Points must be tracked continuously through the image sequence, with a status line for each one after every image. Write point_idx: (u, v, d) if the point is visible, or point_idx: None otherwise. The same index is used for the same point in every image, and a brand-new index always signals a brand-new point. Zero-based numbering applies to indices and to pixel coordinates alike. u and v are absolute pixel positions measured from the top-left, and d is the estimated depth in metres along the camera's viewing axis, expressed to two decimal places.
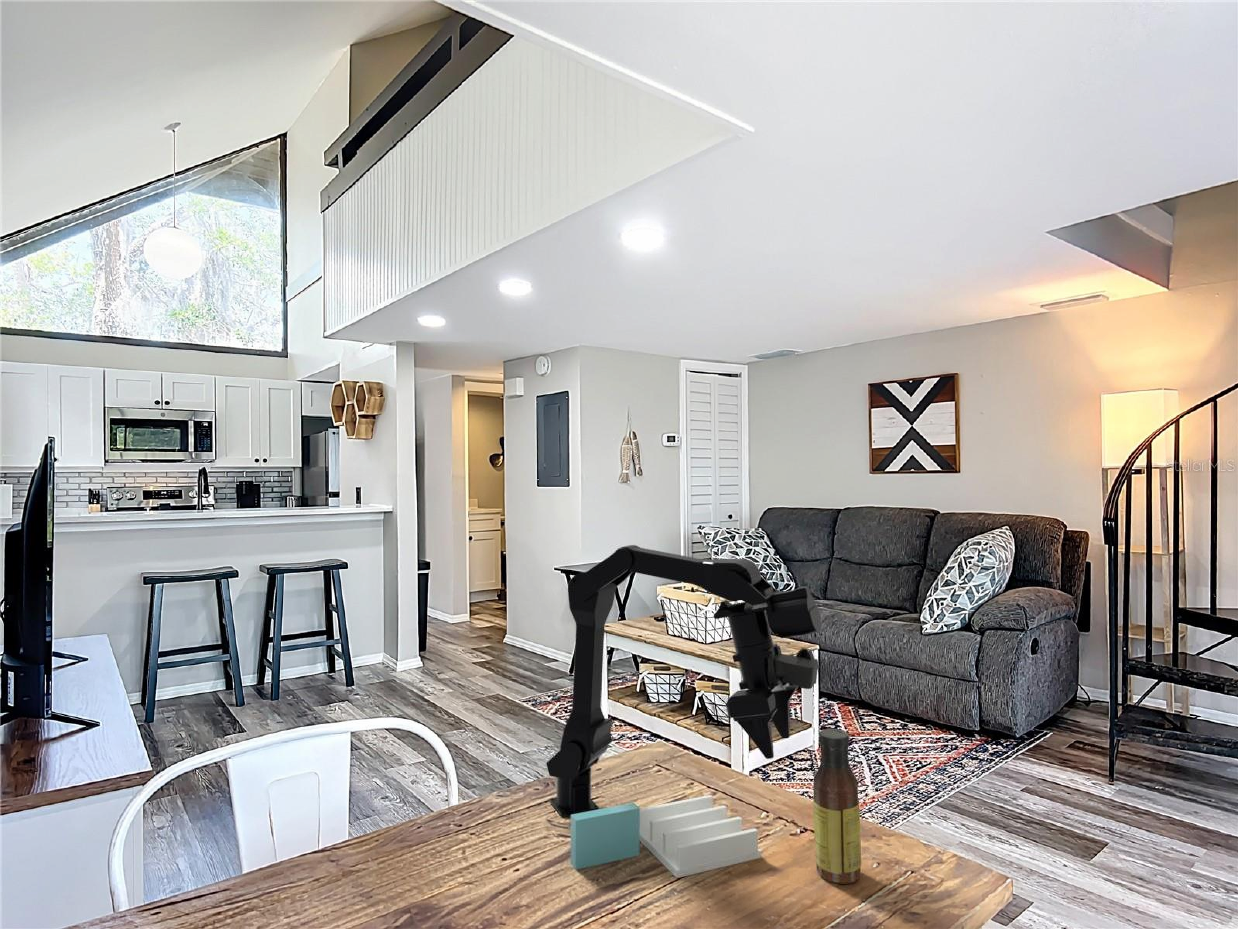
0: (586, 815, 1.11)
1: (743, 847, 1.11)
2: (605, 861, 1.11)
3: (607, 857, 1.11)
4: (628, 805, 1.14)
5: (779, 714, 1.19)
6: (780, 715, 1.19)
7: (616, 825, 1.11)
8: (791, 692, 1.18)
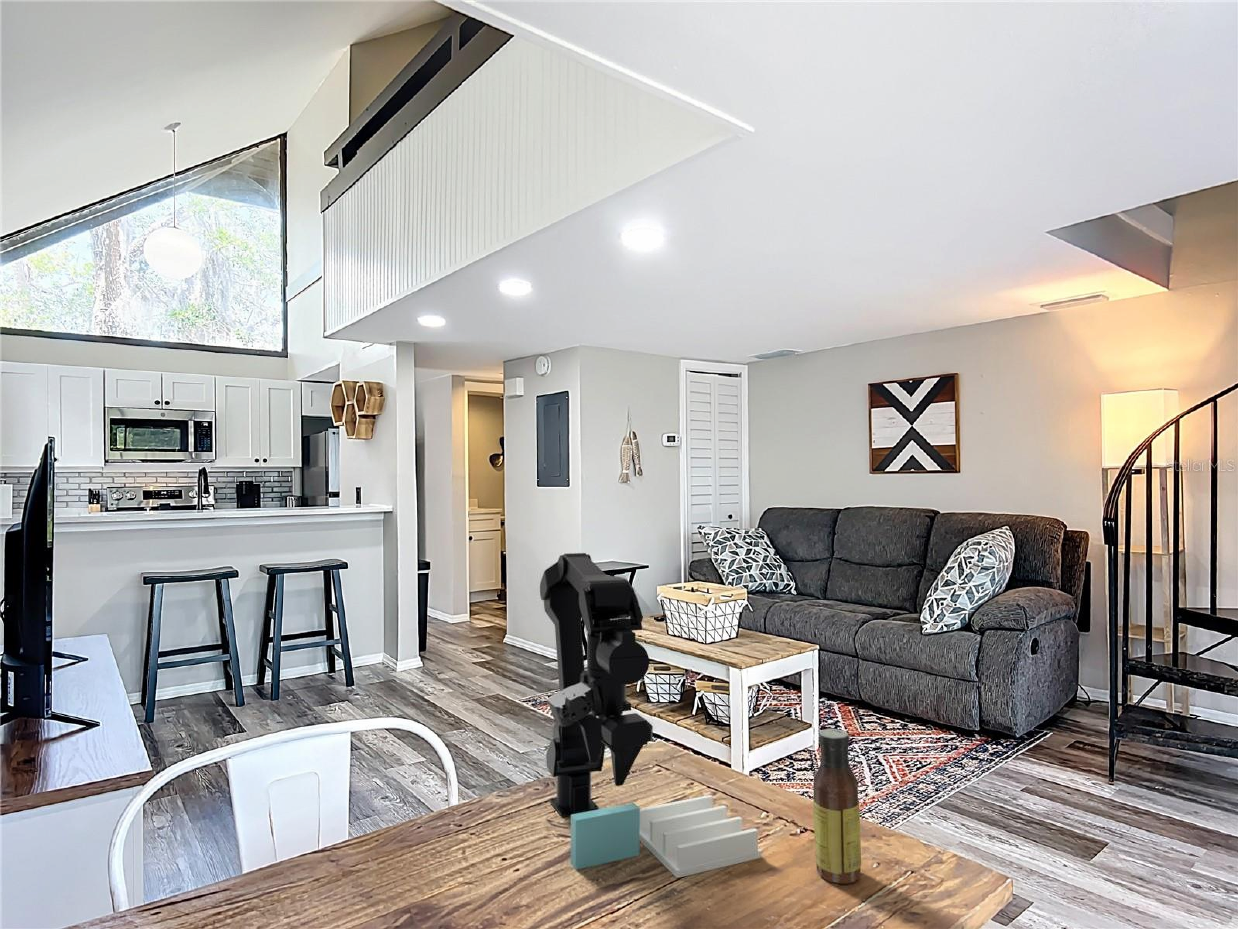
0: (586, 815, 1.11)
1: (743, 847, 1.11)
2: (605, 861, 1.11)
3: (607, 857, 1.11)
4: (628, 805, 1.14)
5: None
6: None
7: (616, 825, 1.11)
8: None
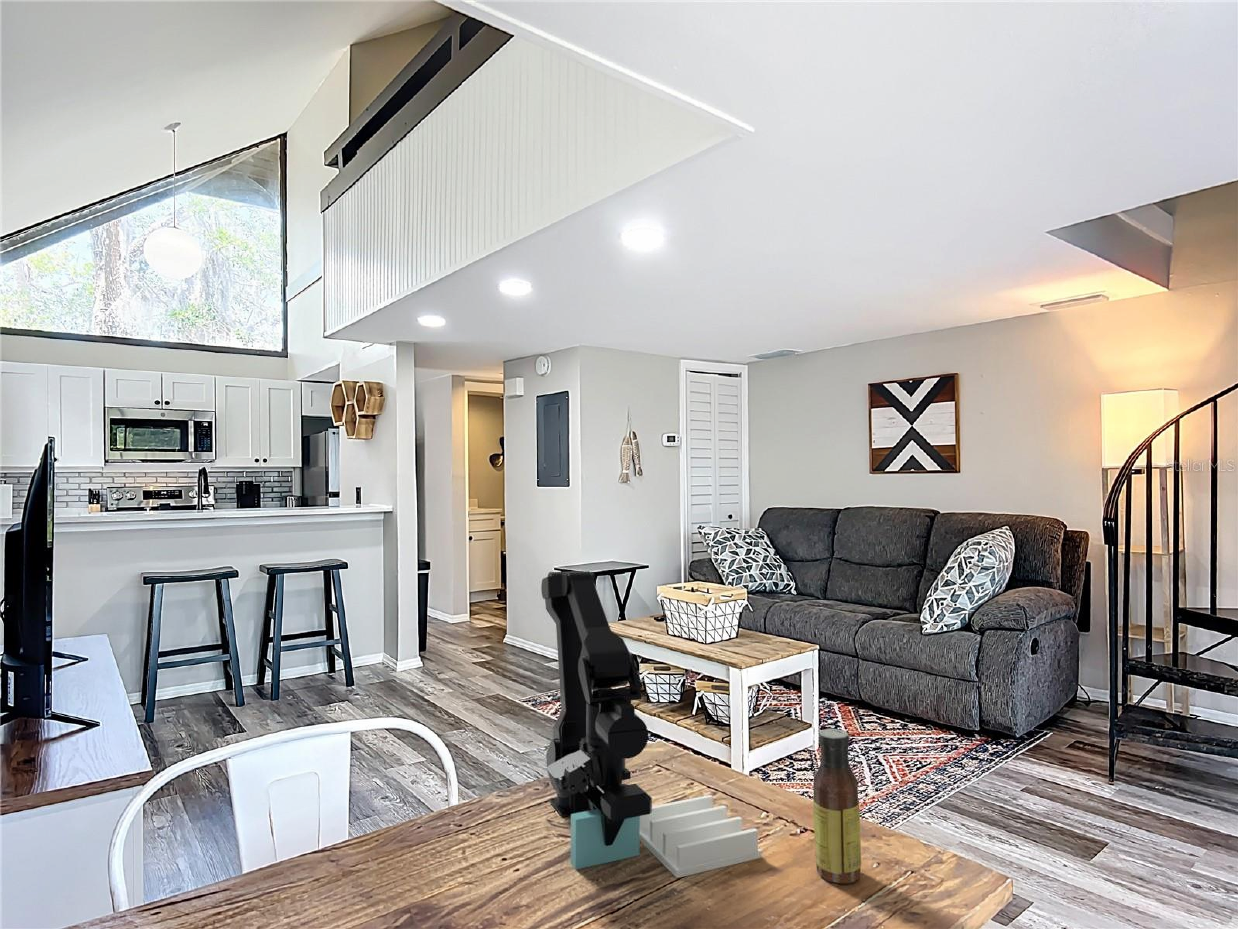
0: (586, 814, 1.11)
1: (743, 847, 1.11)
2: (605, 860, 1.11)
3: (607, 856, 1.11)
4: None
5: None
6: None
7: None
8: None
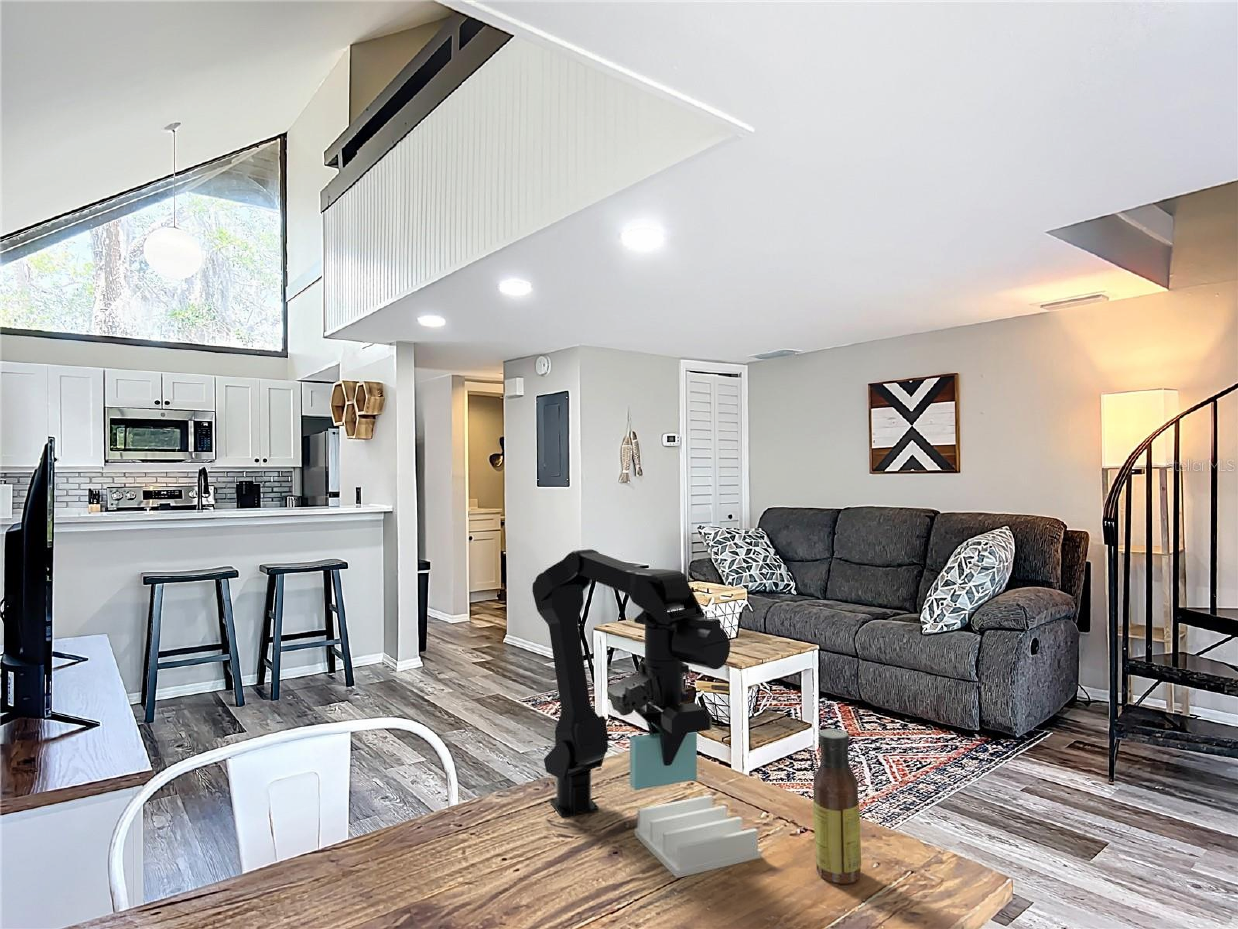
0: (645, 737, 1.13)
1: (743, 847, 1.11)
2: (664, 783, 1.13)
3: (666, 779, 1.13)
4: None
5: None
6: None
7: None
8: None
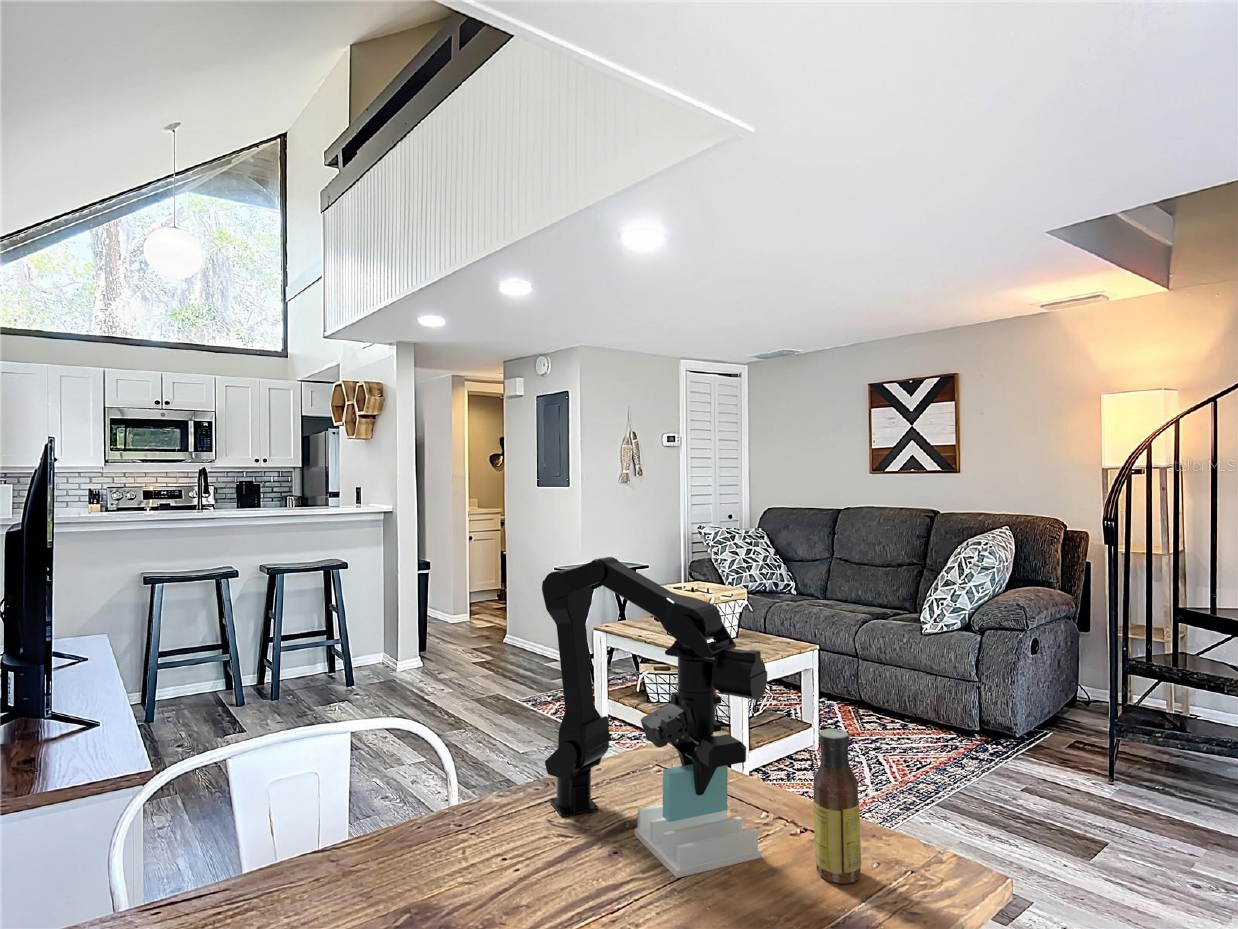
0: (678, 769, 1.15)
1: (743, 847, 1.11)
2: (696, 814, 1.15)
3: (698, 810, 1.15)
4: None
5: None
6: None
7: None
8: None
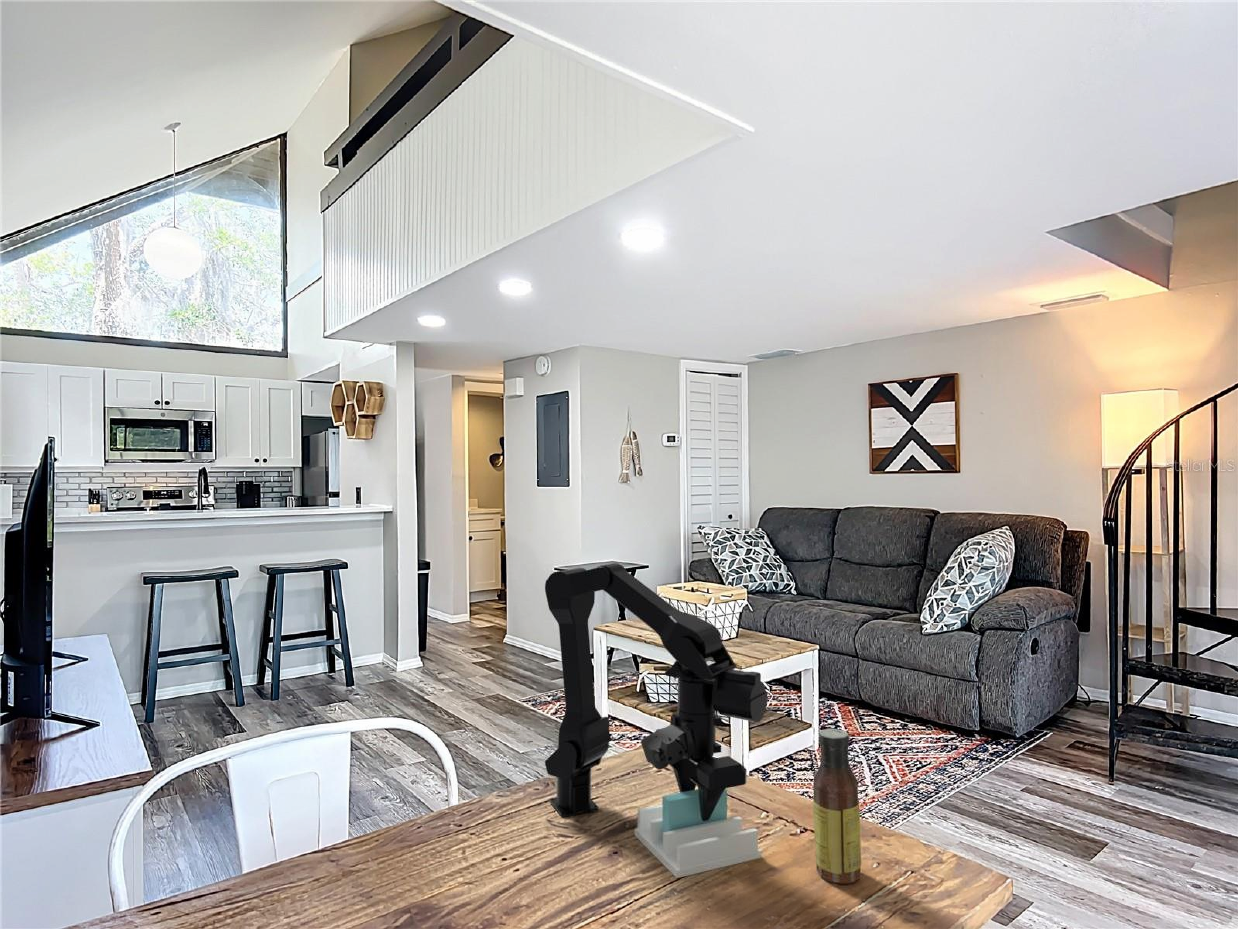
0: (678, 796, 1.14)
1: (743, 847, 1.11)
2: None
3: None
4: None
5: None
6: None
7: None
8: None
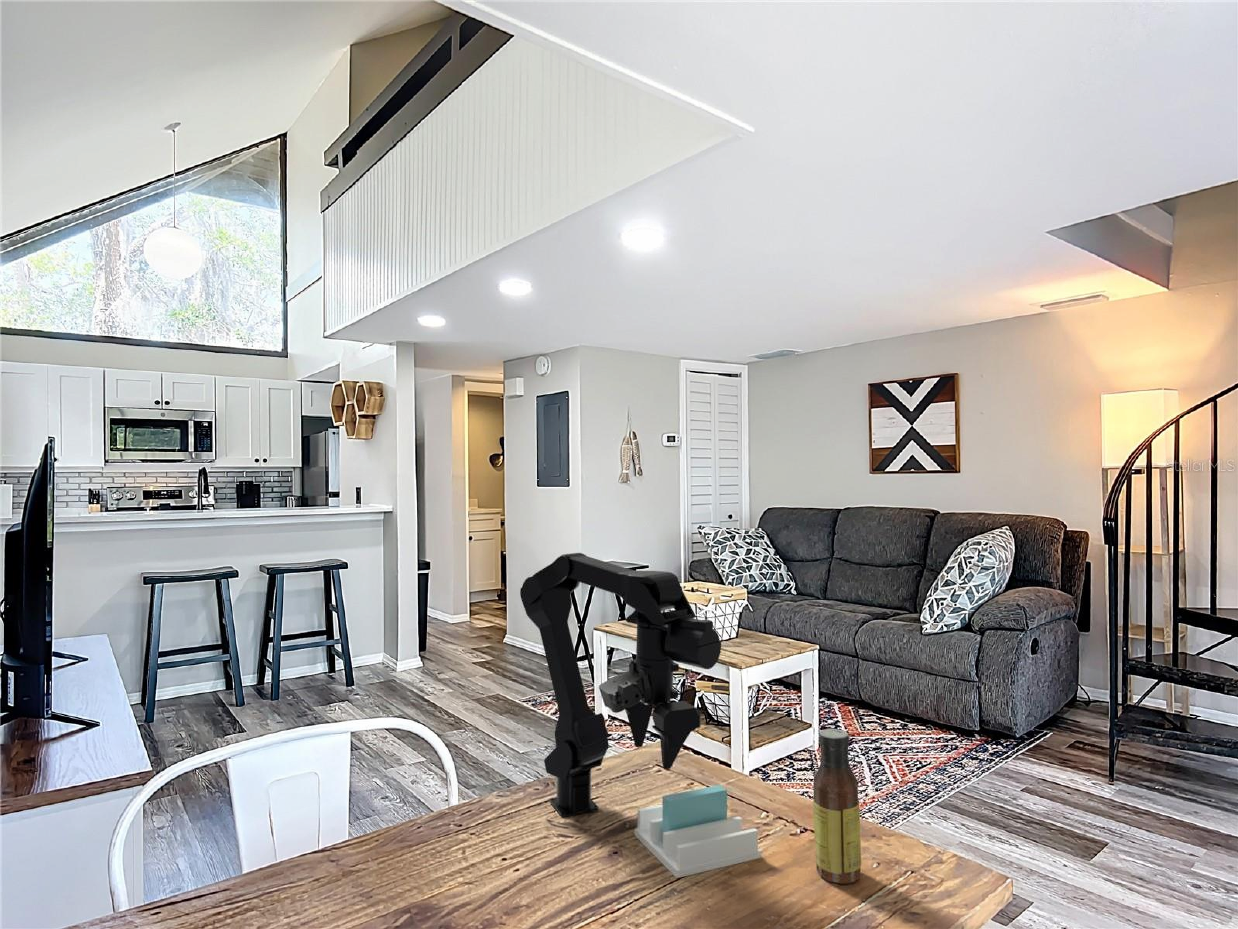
0: (678, 796, 1.14)
1: (743, 847, 1.11)
2: None
3: None
4: (715, 787, 1.18)
5: None
6: None
7: (706, 806, 1.15)
8: None
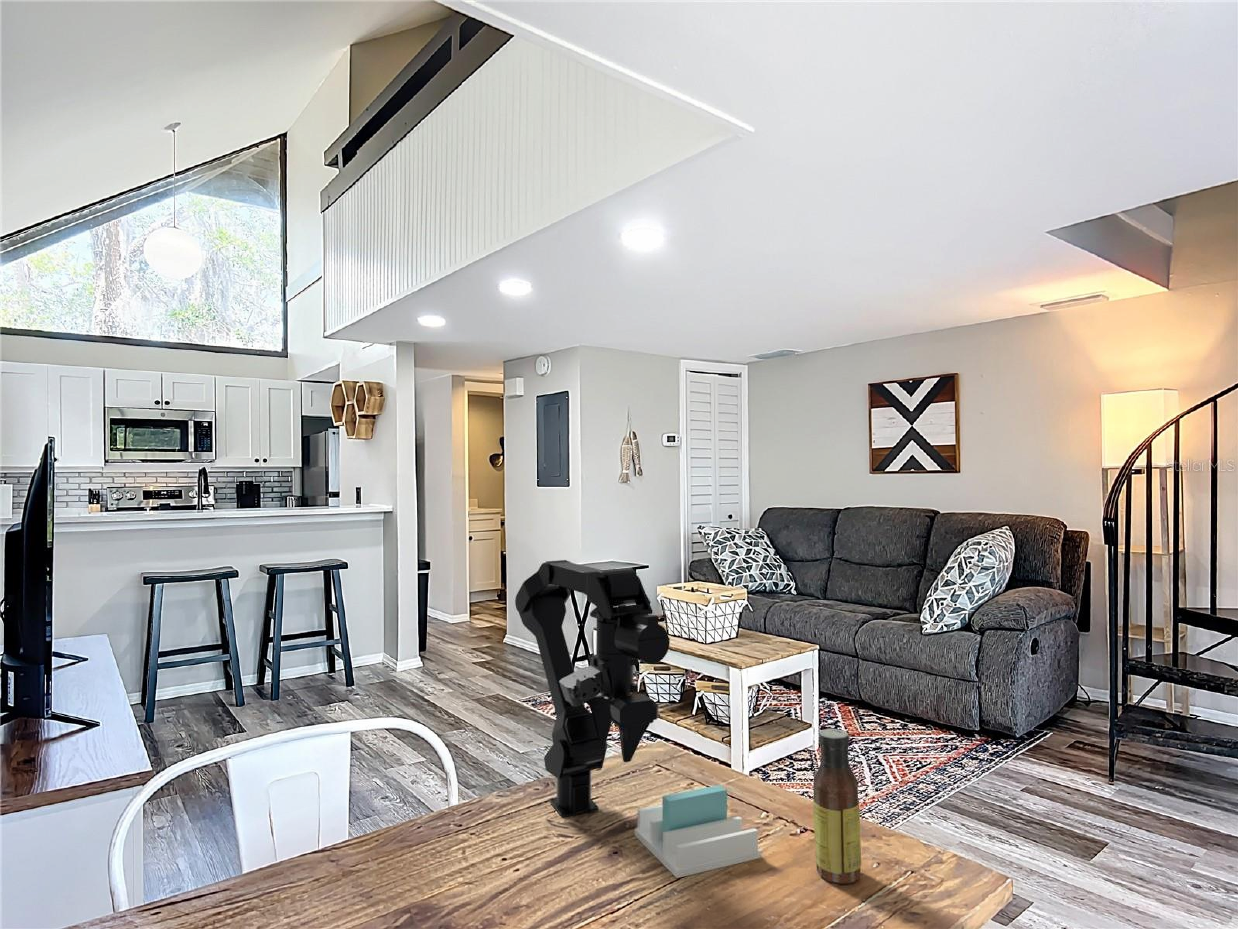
0: (678, 796, 1.14)
1: (743, 847, 1.11)
2: None
3: None
4: (715, 787, 1.18)
5: None
6: None
7: (706, 806, 1.15)
8: None
